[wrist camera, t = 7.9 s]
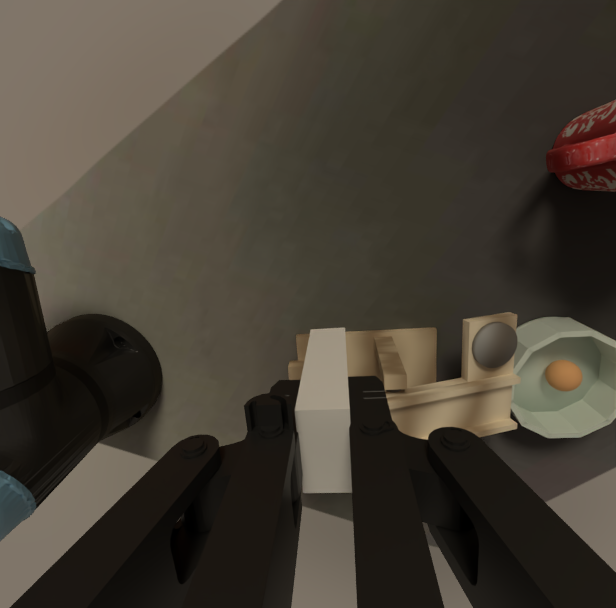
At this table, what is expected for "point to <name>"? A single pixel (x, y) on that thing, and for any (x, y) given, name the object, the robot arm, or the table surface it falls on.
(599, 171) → the mug
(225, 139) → the table surface
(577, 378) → the ball
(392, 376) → the stand
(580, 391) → the bowl
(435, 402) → the lever
